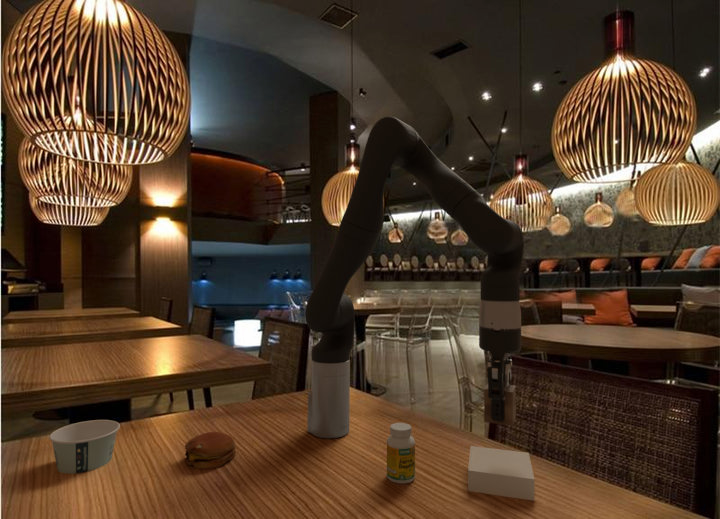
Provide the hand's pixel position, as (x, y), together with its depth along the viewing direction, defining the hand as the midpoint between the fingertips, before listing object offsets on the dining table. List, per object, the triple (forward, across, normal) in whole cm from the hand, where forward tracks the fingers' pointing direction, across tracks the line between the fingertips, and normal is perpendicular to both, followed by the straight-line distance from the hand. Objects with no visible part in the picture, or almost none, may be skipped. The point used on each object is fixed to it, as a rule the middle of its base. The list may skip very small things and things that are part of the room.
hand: (500, 415), depth 81 cm
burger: (+12, +17, -55) cm, 59 cm away
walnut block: (+1, 0, 0) cm, 1 cm away
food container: (+12, +29, -76) cm, 82 cm away
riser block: (+12, 0, 0) cm, 12 cm away
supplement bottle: (+12, +7, -17) cm, 22 cm away
